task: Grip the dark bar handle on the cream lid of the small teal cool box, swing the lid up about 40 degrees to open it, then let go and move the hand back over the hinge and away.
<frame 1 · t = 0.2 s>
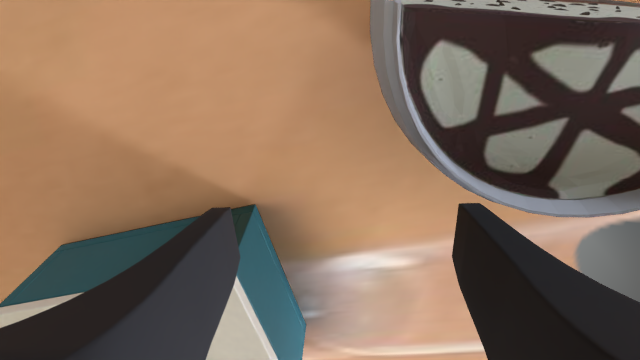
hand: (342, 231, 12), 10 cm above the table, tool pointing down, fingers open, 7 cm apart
cool box: (188, 286, 28), on the table
food container: (478, 60, 19), on the table
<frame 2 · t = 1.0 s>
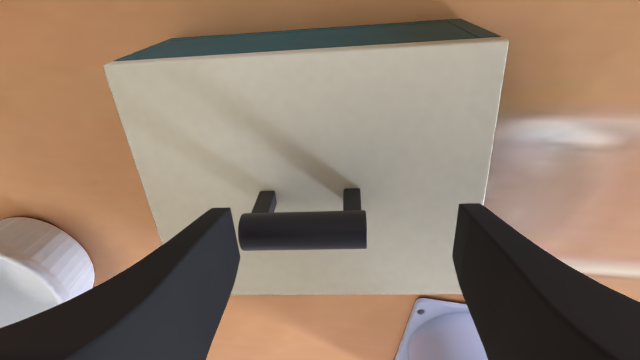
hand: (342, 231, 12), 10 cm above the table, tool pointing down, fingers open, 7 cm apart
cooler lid: (307, 210, 15), point 8 cm above the table, hinge at 0.0°
ramekin: (45, 257, 28), on the table
cool box: (319, 132, 22), on the table
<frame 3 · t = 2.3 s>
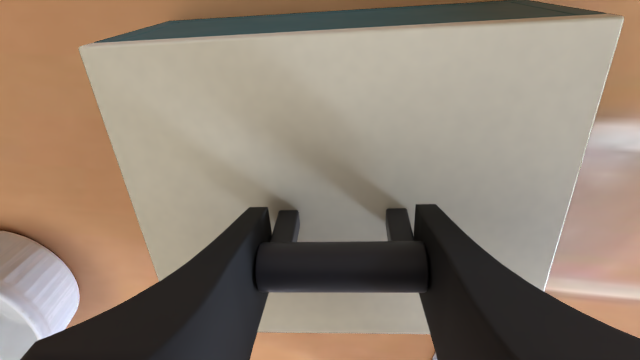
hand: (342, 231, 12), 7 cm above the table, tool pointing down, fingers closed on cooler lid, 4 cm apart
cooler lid: (341, 238, 12), point 8 cm above the table, hinge at 0.0°, touching gripper
ramekin: (23, 274, 25), on the table
cool box: (343, 136, 18), on the table
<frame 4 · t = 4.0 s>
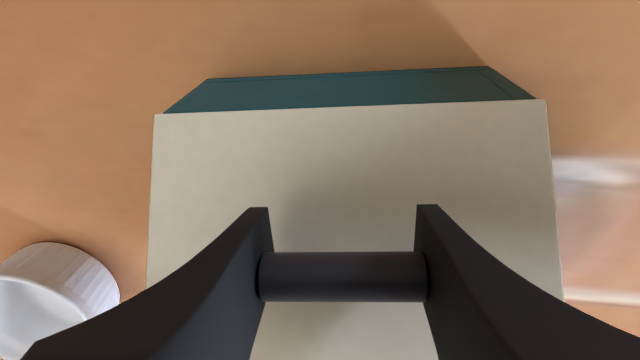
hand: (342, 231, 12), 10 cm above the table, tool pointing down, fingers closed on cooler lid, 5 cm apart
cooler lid: (343, 270, 12), point 11 cm above the table, hinge at 36.1°, touching gripper
ramekin: (71, 279, 29), on the table
cool box: (346, 168, 22), on the table
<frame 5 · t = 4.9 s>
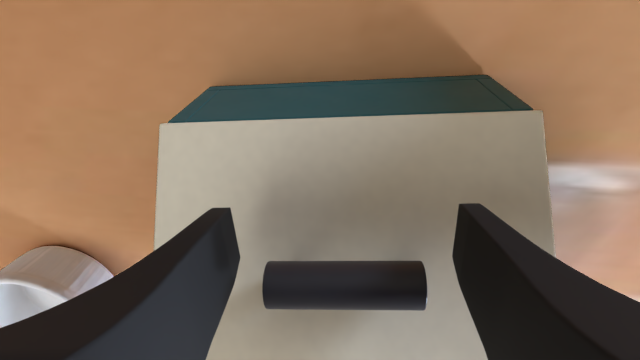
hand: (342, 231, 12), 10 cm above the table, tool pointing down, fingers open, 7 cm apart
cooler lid: (344, 278, 13), point 11 cm above the table, hinge at 36.0°
ramekin: (74, 282, 29), on the table
cool box: (347, 173, 23), on the table
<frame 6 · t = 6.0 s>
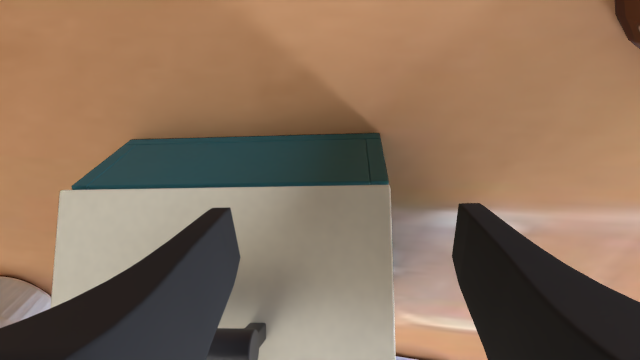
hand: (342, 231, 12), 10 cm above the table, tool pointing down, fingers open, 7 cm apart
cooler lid: (203, 337, 14), point 11 cm above the table, hinge at 36.0°
ramekin: (23, 308, 31), on the table
cool box: (263, 216, 25), on the table
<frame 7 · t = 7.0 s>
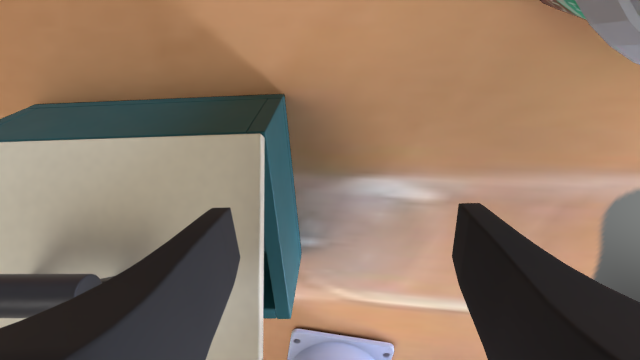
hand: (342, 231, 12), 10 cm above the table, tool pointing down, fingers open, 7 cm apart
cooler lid: (53, 288, 14), point 11 cm above the table, hinge at 36.0°
cool box: (179, 185, 24), on the table
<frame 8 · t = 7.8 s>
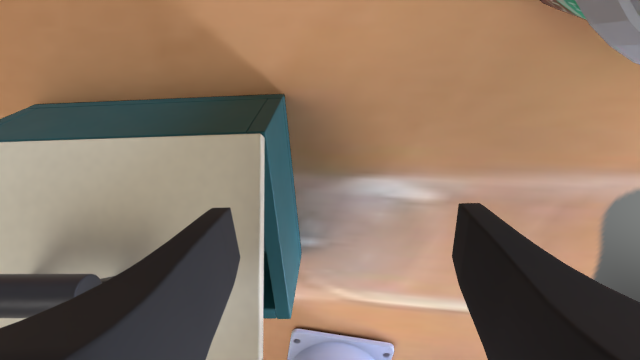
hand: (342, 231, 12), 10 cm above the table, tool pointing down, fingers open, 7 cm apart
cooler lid: (53, 288, 14), point 11 cm above the table, hinge at 36.0°
cool box: (179, 185, 24), on the table
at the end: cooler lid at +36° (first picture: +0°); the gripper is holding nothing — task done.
